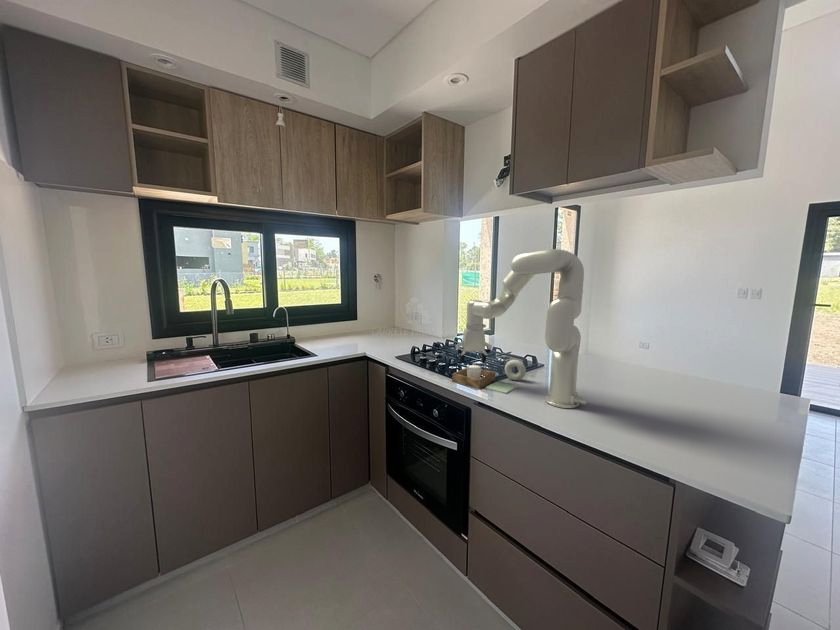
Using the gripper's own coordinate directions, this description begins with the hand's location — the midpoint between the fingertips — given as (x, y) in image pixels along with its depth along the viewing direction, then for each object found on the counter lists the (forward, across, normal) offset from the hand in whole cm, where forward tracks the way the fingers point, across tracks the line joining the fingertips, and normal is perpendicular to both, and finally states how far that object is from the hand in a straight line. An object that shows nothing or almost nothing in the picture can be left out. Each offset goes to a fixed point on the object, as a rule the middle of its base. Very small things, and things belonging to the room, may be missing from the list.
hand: (473, 362), depth 158 cm
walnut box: (+9, -1, +1) cm, 9 cm away
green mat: (+8, -10, +10) cm, 17 cm away
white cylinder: (+9, -1, +1) cm, 9 cm away
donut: (+9, -20, +1) cm, 22 cm away
